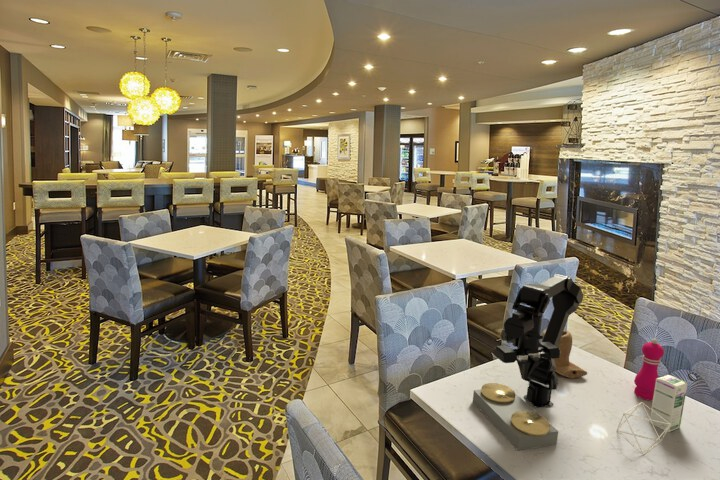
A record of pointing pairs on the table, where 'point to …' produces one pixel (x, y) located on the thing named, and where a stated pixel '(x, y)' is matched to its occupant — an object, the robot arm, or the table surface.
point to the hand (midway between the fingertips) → (523, 379)
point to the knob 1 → (498, 393)
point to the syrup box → (668, 402)
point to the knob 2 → (530, 423)
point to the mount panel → (502, 421)
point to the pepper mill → (648, 370)
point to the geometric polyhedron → (643, 436)
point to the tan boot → (566, 358)
